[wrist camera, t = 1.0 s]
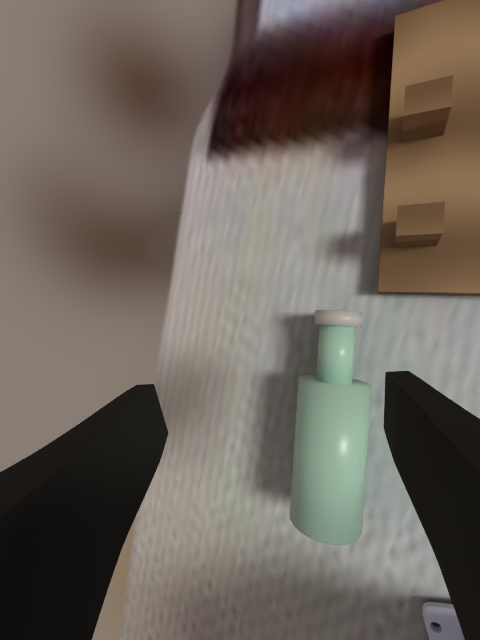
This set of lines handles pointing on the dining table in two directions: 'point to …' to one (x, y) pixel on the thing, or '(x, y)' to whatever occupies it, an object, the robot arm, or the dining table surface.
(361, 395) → the bottle
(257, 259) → the dining table surface
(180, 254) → the dining table surface
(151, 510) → the dining table surface
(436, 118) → the bottle cradle
